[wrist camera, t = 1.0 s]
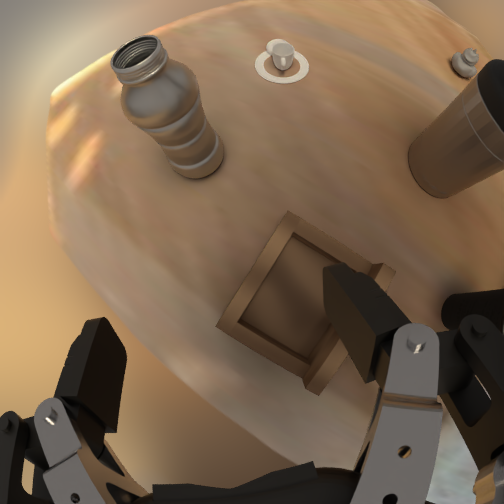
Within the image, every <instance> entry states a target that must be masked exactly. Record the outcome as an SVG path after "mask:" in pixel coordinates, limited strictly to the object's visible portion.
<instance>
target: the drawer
mask: <svg viewBox="0 0 504 504" xmlns="http://www.w3.org/2000/svg"><path fill="white" fill-rule="evenodd" d="M340 262H345V263H346V264H347V265H348V266H349V267H350V269H351V270H352V271H353V272H354V273H357V272H362V273H364V274H366V275H368V276H370V277H372V278H373V279H374V280H375V281H376V282H377V284H378V285H379V286H380V288H381V289H383V290H384V291H385V292H386V290H387V288H388V286H389V284H390V283H391V281H392V279H393V277H394V275H395V273H396V271H395V270H393V269H392V268H390V267H389V266H387V265H386V264H385V263H380V264H372V263H370V262H369V261H367V260H366V259H364V258H363V257H361V256H360V255H358V254H357V253H355V252H354V251H352V250H350V249H349V248H347V247H346V246H344V245H343V244H341V243H340V242H338V241H337V240H335V239H333V238H332V237H330V236H329V235H327V234H325V233H324V232H322V231H321V230H319V229H317V228H316V227H314V226H313V225H311V224H309V223H308V222H306V221H305V220H303V219H301V218H300V217H298V216H296V215H295V214H293V213H291V212H290V211H287V213H286V214H285V216H284V218H283V219H282V221H281V222H280V224H279V226H278V227H277V229H276V230H275V232H274V234H273V235H272V237H271V239H270V240H269V242H268V243H267V245H266V247H265V248H264V250H263V251H262V253H261V255H260V256H259V258H258V259H257V261H256V263H255V264H254V266H253V267H252V269H251V271H250V272H249V274H248V275H247V277H246V279H245V280H244V282H243V283H242V285H241V287H240V288H239V290H238V291H237V293H236V295H235V296H234V298H233V299H232V301H231V302H230V304H229V306H228V307H227V309H226V310H225V312H224V314H223V315H222V317H221V318H220V320H219V322H218V323H217V325H216V327H217V328H219V329H220V330H222V331H223V332H225V333H226V334H228V335H230V336H231V337H233V338H234V339H236V340H237V341H239V342H241V343H242V344H244V345H246V346H247V347H249V348H250V349H252V350H254V351H255V352H257V353H259V354H260V355H262V356H264V357H266V358H267V359H269V360H271V361H272V362H274V363H276V364H278V365H279V366H281V367H283V368H285V369H286V370H288V371H290V372H292V373H293V374H295V375H297V376H299V377H301V378H302V380H303V383H304V386H305V389H307V390H309V391H311V392H312V393H314V394H316V395H318V396H319V395H320V393H321V392H322V391H323V389H324V388H325V387H326V385H327V384H328V383H329V381H330V380H331V378H332V377H333V376H334V374H335V373H336V371H337V370H338V368H339V367H340V366H341V364H342V363H343V361H344V360H345V358H346V357H347V355H348V354H349V353H348V351H347V350H346V348H345V346H344V344H343V343H342V341H341V339H340V337H339V336H338V334H337V332H336V330H335V329H334V327H333V325H332V324H331V322H330V320H329V318H328V317H327V314H326V312H325V308H324V303H323V268H324V267H326V266H329V265H333V264H337V263H340Z"/></svg>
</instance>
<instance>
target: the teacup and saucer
mask: <svg viewBox="0 0 504 504" xmlns="http://www.w3.org/2000/svg"><path fill="white" fill-rule="evenodd" d="M266 49H267V51H265V52H263V53H262V54H260V55H259V56H258V57H257V59H256V61H255V69H256V71H257V73H258V74H259V75H260V76H261V77H263V78H264V79H266V80H268V81H271V82H274V83H282V84H286V83H293V82H297V81H299V80H301V79H302V78H304V77H305V76H306V75H307V73H308V71H309V64H308V61H307V60H306V58H305V57H304V56H303V55H301V54H300V53H298V52H296V51H295V49H294V47H293V46H292V45H291V44H289V43H288V42H287V41H285V40H282V39H274V40H271V41H270V42H268V44H267V46H266ZM271 55H272V56H273V62H274V64H275V66H276V67H277V68H278V69H280V70H286V69H288V68H289V67H290V66H291V64H292V62H293V57H295V58H296V59H297V60H298V61H299V63H300V70H299V72H298V73H297V74H295V75H294V76H291V77H286V78H280V77H275V76H272V75H270V74H269V73H268V72H266V70H265V69H264V61H265V60H266V59H267V58H268V57H269V56H271Z"/></svg>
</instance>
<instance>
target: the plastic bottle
mask: <svg viewBox="0 0 504 504" xmlns="http://www.w3.org/2000/svg"><path fill="white" fill-rule="evenodd" d="M111 67H112V69H113V70H114V72H115V73H116V74H117V78H118V80H119V81H120V82H121V83H122V84H123V87H122V93H121V106H122V109H123V112H124V115H125V116H126V117H127V119H128V120H129V121H131V122H132V123H133V124H134V125H136V126H137V127H139V128H140V129H142V130H143V131H144V132H146V133H147V134H149V135H150V136H151V137H152V138H153V139H154V140H155V141H156V142H157V143H158V144H159V145H160V146H161V148H162V149H163V151H164V152H165V154H166V157H167V159H168V161H169V163H170V165H171V167H172V168H173V169H174V170H175V171H176V172H177V173H179V174H181V175H183V176H185V177H187V178H202V177H205V176H207V175H209V174H211V173H212V172H214V171H215V170H216V169H217V168H218V167H219V165H220V164H221V162H222V159H223V154H224V148H223V142H222V139H221V138H220V136H219V135H218V133H217V132H216V131H215V130H214V129H213V128H212V127H211V125H210V124H209V122H208V120H207V119H206V116H205V113H204V110H203V107H202V103H201V97H200V91H199V85H198V82H197V78H196V75H195V74H194V73H193V71H192V70H190V69H189V68H188V67H187V66H186V65H184V64H183V63H180V62H178V61H175V60H173V59H169V57H168V54H167V51H166V50H165V49H164V48H163V46H162V44H161V42H160V40H159V39H158V38H157V37H156V36H153V35H144V36H139V37H137V38H134V39H132V40H130V41H128V42H127V43H125V44H124V45H122V46H121V47H120V48H119V49H118V50H117V51H116V52H115V53H114V55H113V57H112V59H111Z"/></svg>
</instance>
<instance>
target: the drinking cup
mask: <svg viewBox="0 0 504 504" xmlns="http://www.w3.org/2000/svg"><path fill="white" fill-rule="evenodd" d="M472 314H477V315H482V316H484V317H486V318H488V319H489V320H490V321H491V322H492V323H493V324H494V325H495V326H496V327H497V329H498V330H499V331H500V332H501V333H502V334H503V336H504V289H499V290H491V291H482V292H472V293H463V294H454V295H451V296H450V297H449V298H448V299H447V300H446V301H445V303H444V305H443V308H442V321H443V324H444V326H445V327H446V328H448V329H450V330H456V329H458V328H459V326H460V323H461V321H462V319H463V318H464V317H466V316H468V315H472Z"/></svg>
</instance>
